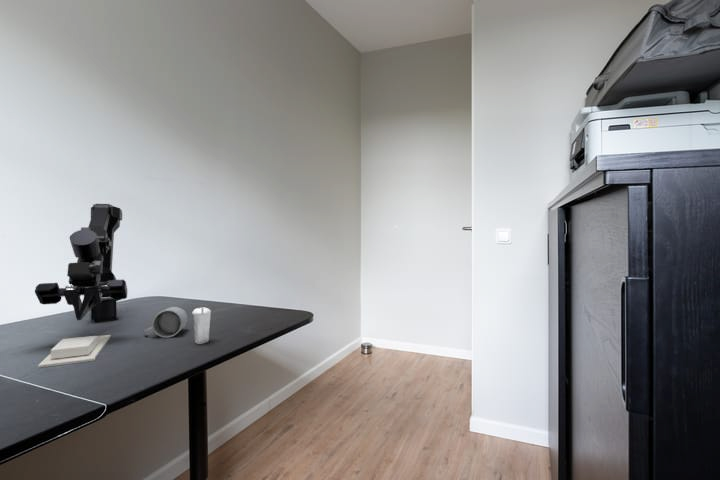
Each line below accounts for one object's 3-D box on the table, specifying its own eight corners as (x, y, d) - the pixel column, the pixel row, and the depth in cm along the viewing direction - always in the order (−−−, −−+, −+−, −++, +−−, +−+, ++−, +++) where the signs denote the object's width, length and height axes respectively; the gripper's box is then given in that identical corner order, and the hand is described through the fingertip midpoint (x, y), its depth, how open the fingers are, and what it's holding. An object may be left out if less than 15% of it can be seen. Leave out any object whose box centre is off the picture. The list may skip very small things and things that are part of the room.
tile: (62, 339, 90) (50, 350, 82) (97, 335, 93) (88, 346, 85) (63, 348, 90) (50, 360, 82) (97, 344, 93) (88, 355, 85)
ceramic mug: (188, 328, 109) (188, 303, 109) (182, 336, 101) (181, 309, 101) (149, 331, 107) (148, 305, 107) (139, 340, 99) (138, 312, 99)
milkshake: (193, 346, 93) (192, 307, 93) (192, 340, 98) (191, 303, 97) (212, 344, 95) (211, 306, 95) (210, 338, 100) (209, 302, 99)
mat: (65, 341, 97) (65, 339, 97) (110, 336, 101) (110, 334, 101) (37, 367, 79) (37, 365, 79) (94, 360, 83) (94, 358, 83)
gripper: (36, 251, 90) (19, 304, 81) (125, 249, 98) (119, 297, 89) (48, 278, 98) (33, 330, 88) (129, 275, 106) (124, 321, 96)
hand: (78, 319), depth 90 cm, fingers closed
